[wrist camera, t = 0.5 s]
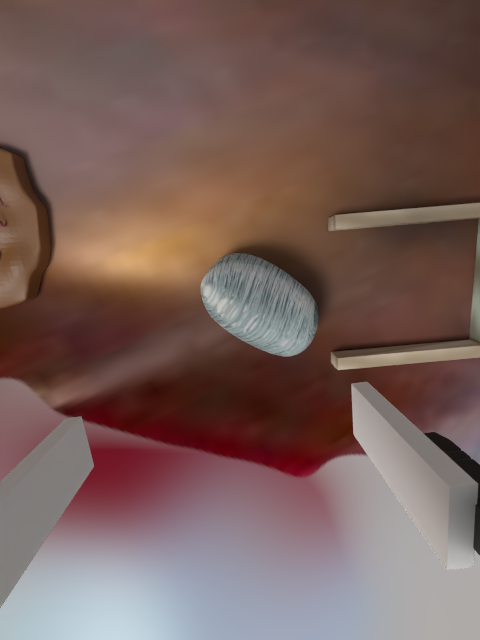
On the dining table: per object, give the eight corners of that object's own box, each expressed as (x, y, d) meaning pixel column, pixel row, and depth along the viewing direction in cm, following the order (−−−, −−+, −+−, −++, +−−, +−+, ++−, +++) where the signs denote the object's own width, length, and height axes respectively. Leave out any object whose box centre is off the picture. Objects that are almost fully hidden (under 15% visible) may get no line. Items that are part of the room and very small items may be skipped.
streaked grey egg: (345, 298, 34) (328, 338, 26) (296, 348, 39) (268, 394, 31) (253, 223, 35) (209, 239, 27) (218, 282, 40) (172, 310, 32)
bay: (328, 217, 35) (335, 214, 32) (492, 203, 35) (511, 200, 33) (331, 362, 39) (337, 369, 36) (479, 349, 39) (496, 355, 36)
